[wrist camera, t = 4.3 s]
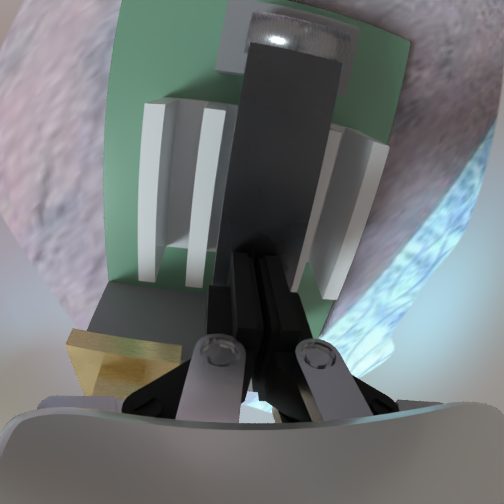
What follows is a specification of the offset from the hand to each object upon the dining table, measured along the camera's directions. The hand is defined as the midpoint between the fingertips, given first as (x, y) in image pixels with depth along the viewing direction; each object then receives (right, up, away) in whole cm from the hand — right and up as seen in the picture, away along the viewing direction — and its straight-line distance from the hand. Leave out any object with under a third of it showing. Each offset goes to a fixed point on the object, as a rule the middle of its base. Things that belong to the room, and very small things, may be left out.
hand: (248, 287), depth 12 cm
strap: (0, +3, 0) cm, 3 cm away
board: (-1, +5, +6) cm, 7 cm away
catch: (-6, -4, +1) cm, 7 cm away
